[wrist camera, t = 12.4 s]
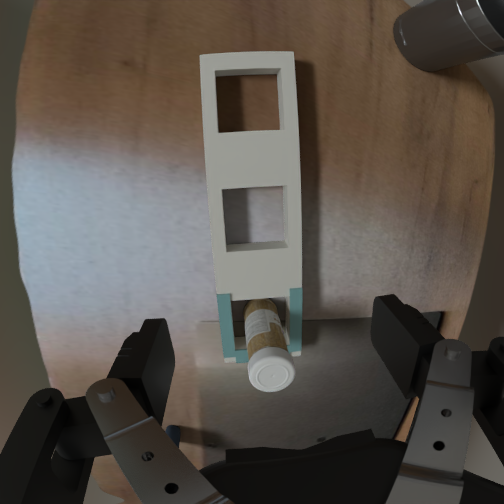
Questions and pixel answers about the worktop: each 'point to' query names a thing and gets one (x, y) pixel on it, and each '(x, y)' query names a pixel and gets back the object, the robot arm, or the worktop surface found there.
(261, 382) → the sprinkles bottle
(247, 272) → the rail
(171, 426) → the vaping device
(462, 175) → the worktop surface
